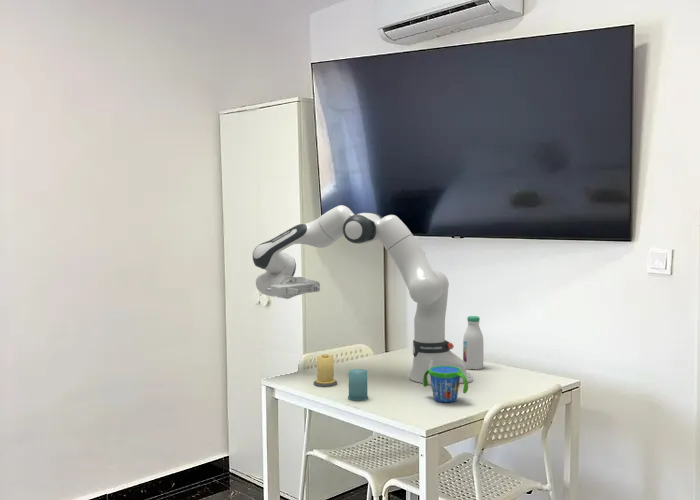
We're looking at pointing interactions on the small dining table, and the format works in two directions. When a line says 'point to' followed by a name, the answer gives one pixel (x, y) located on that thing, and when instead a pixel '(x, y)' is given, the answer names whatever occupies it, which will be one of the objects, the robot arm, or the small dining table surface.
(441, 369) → the snack cup
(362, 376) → the canister
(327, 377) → the tan cylinder
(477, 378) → the small dining table surface
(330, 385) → the mat
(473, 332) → the milk bottle
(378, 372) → the small dining table surface
